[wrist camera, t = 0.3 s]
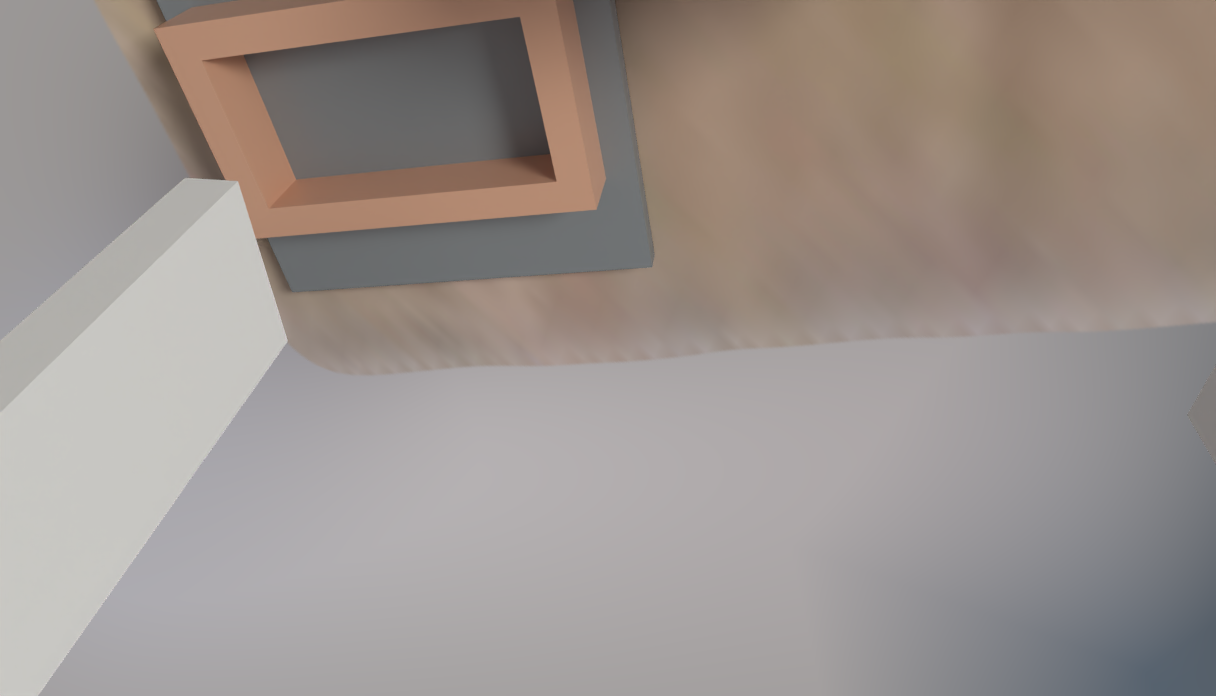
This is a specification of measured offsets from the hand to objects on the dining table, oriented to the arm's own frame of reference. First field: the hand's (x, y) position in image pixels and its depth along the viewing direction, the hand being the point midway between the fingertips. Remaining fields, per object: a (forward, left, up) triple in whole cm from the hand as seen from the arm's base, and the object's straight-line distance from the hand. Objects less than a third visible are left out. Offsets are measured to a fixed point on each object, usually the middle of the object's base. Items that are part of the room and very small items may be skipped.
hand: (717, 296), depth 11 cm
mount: (+6, -16, -27) cm, 32 cm away
